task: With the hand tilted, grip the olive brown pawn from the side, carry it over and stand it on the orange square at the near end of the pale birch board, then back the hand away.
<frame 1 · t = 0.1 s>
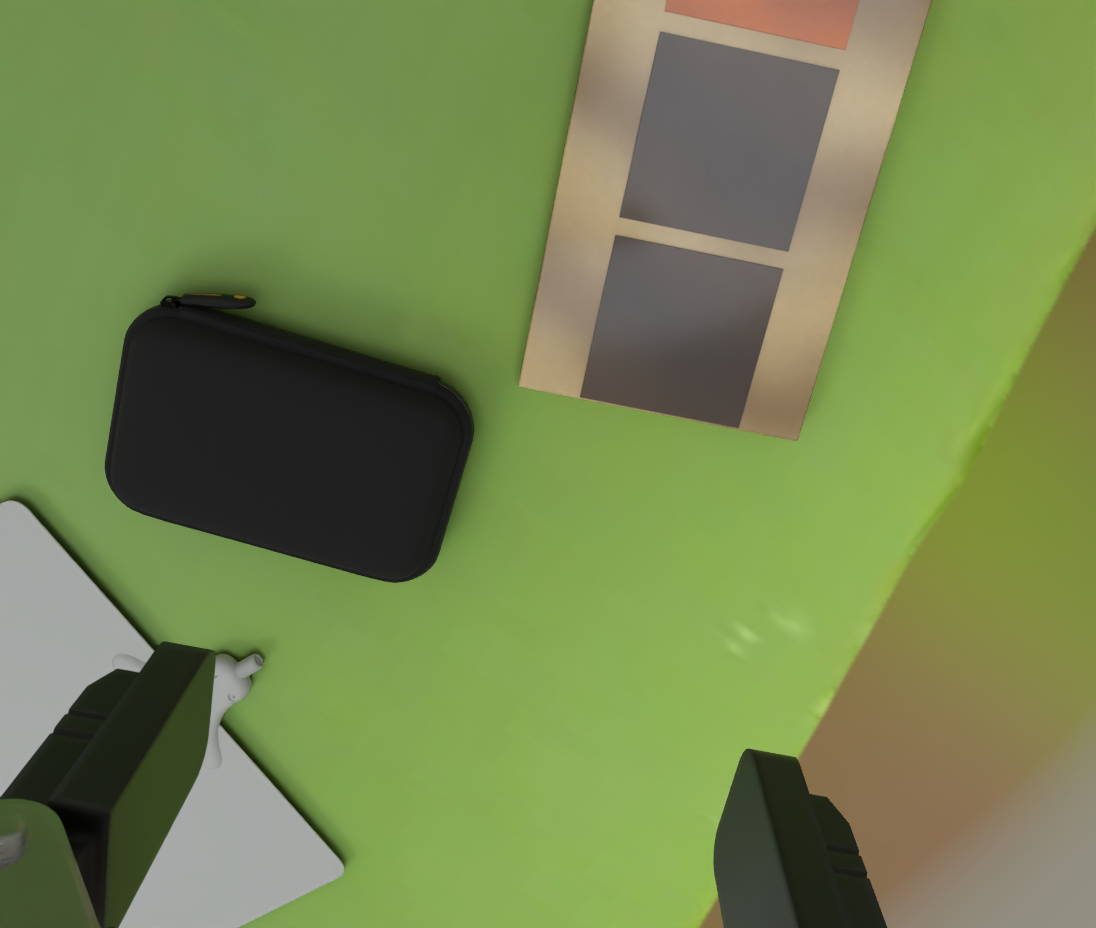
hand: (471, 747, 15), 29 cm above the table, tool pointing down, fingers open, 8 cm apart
carrying case: (301, 424, 45), on the table
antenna: (81, 757, 52), on the table
board: (721, 143, 40), on the table
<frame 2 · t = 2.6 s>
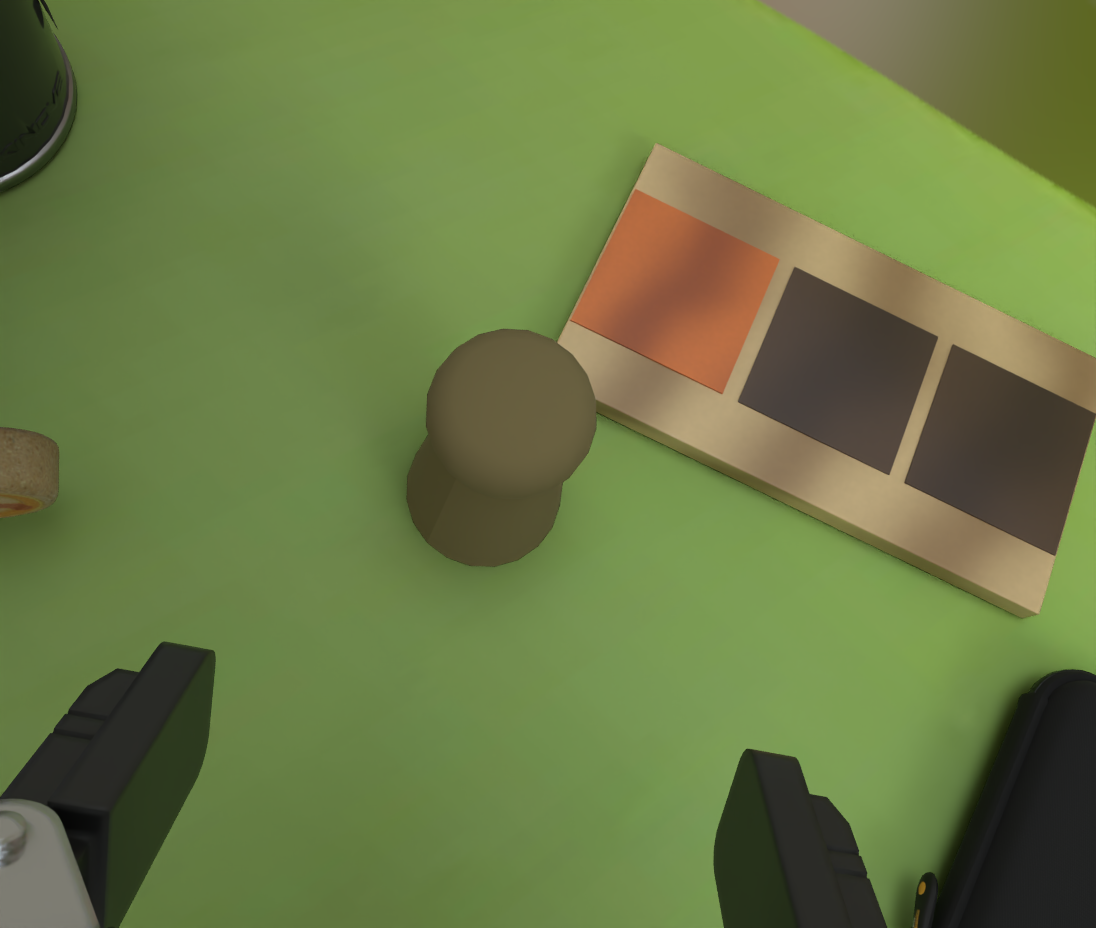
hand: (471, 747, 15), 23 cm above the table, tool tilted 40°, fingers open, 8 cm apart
olive brown pawn: (483, 491, 40), on the table
carrying case: (1050, 877, 39), on the table
board: (828, 379, 43), on the table
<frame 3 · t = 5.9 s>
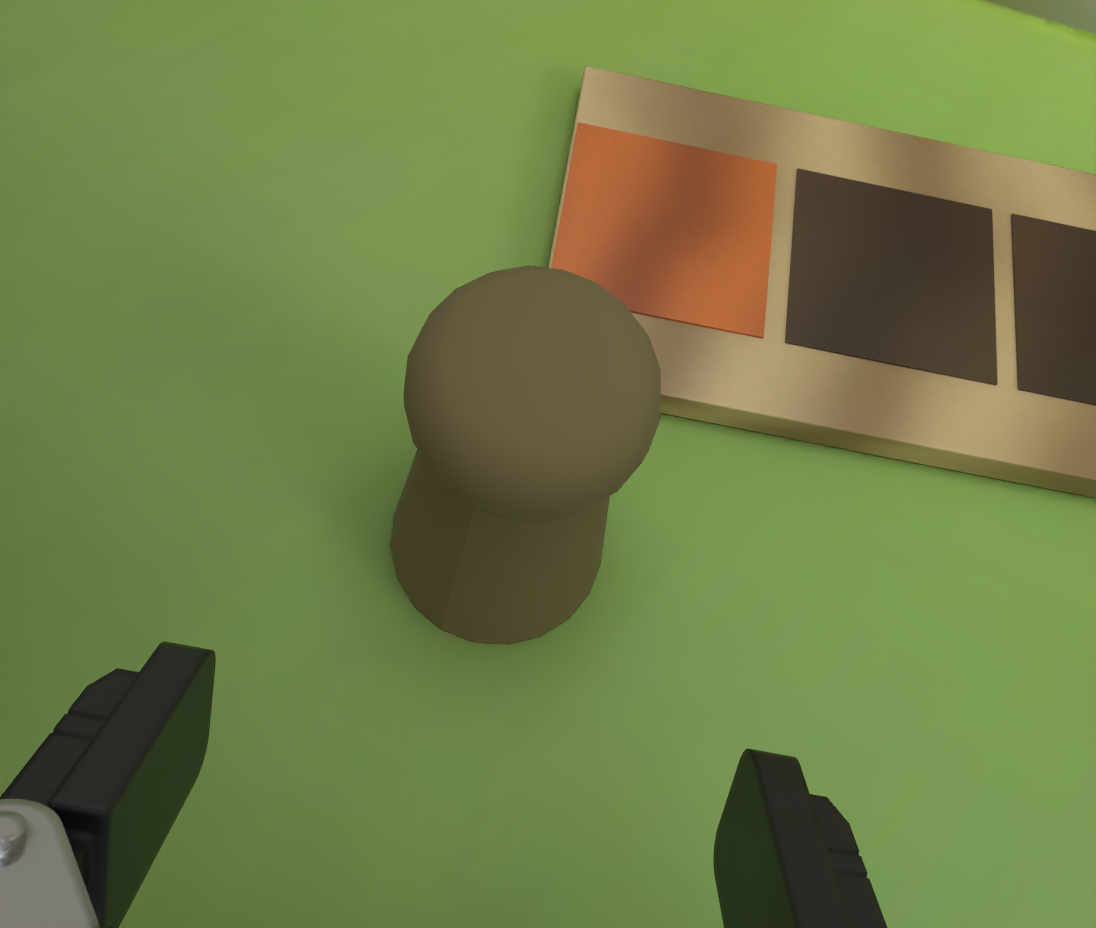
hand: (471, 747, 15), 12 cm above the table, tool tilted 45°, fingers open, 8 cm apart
olive brown pawn: (496, 542, 29), on the table
board: (877, 293, 34), on the table
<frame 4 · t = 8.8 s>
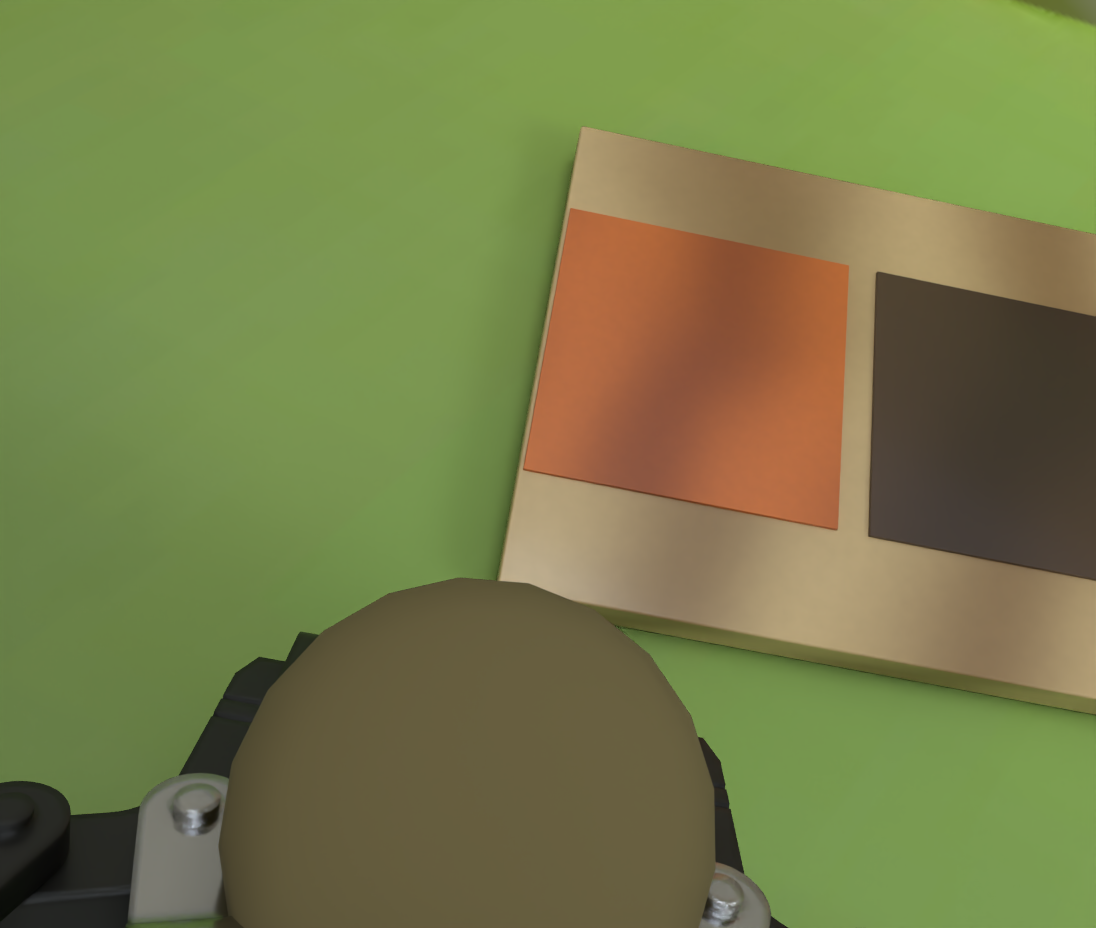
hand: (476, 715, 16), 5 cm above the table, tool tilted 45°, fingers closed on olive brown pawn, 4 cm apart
olive brown pawn: (445, 855, 20), on the table, touching gripper
board: (988, 447, 24), on the table
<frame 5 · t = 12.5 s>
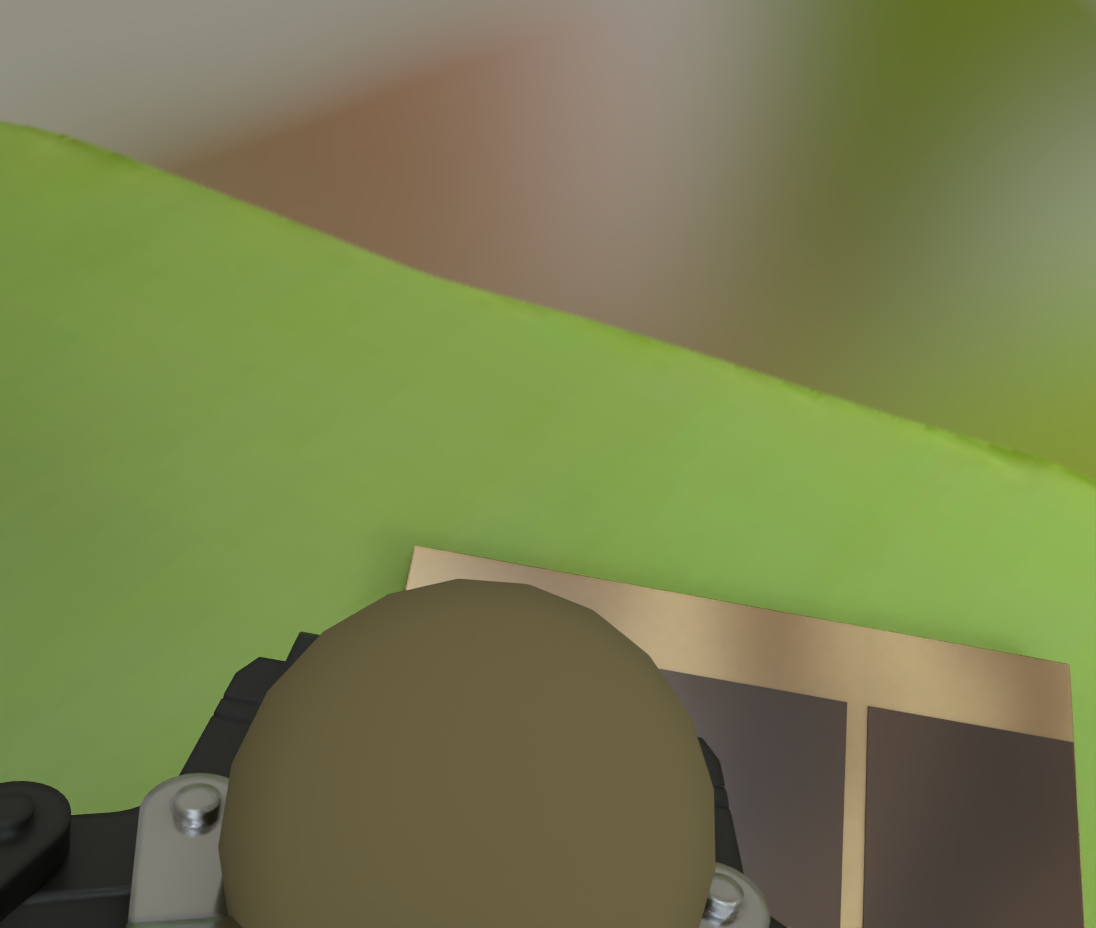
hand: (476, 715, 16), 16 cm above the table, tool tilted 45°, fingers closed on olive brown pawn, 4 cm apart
olive brown pawn: (447, 856, 20), point 12 cm above the table, touching gripper
board: (723, 798, 32), on the table
when the fingers open (6 cm above the table, at t = 16.2 s): olive brown pawn stays where it is, resting on board.
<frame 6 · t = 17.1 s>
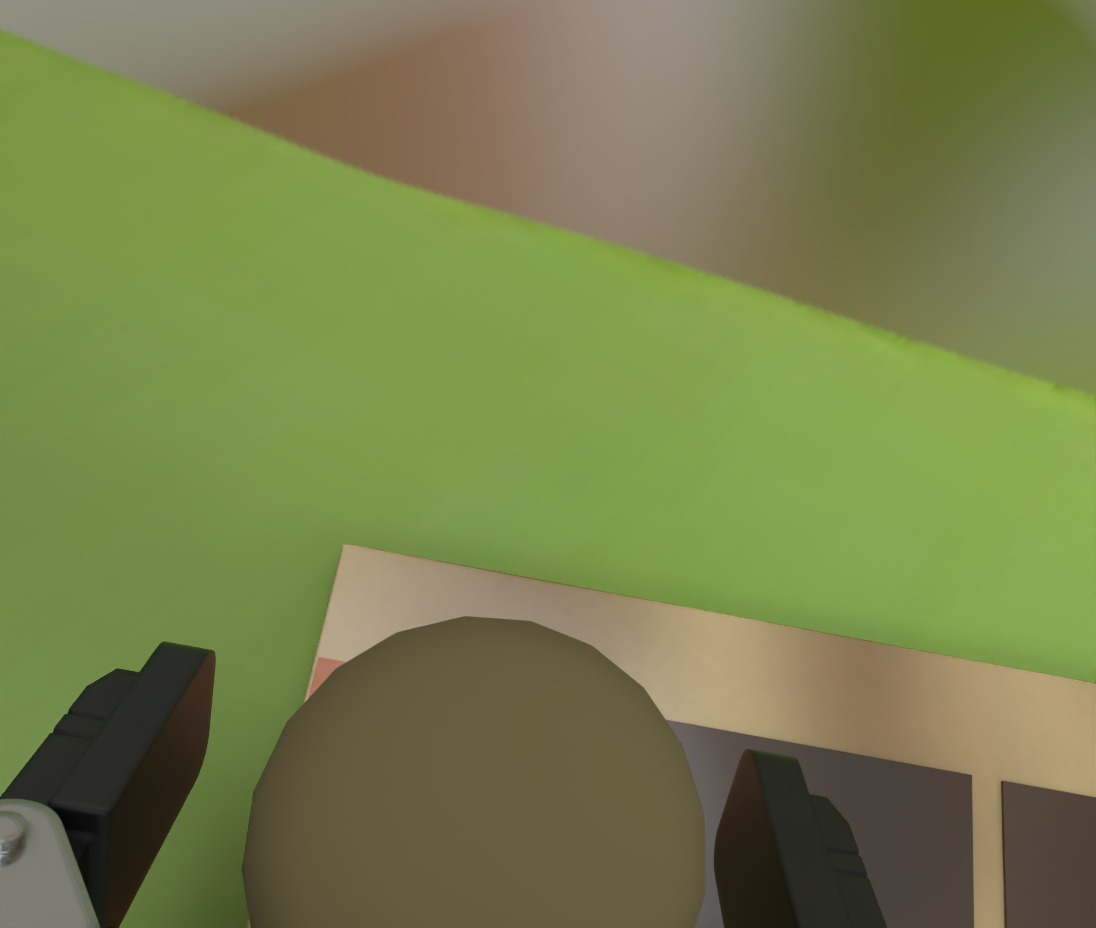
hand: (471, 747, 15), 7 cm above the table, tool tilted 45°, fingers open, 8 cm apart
olive brown pawn: (451, 868, 20), point 1 cm above the table, touching board
board: (791, 917, 22), on the table
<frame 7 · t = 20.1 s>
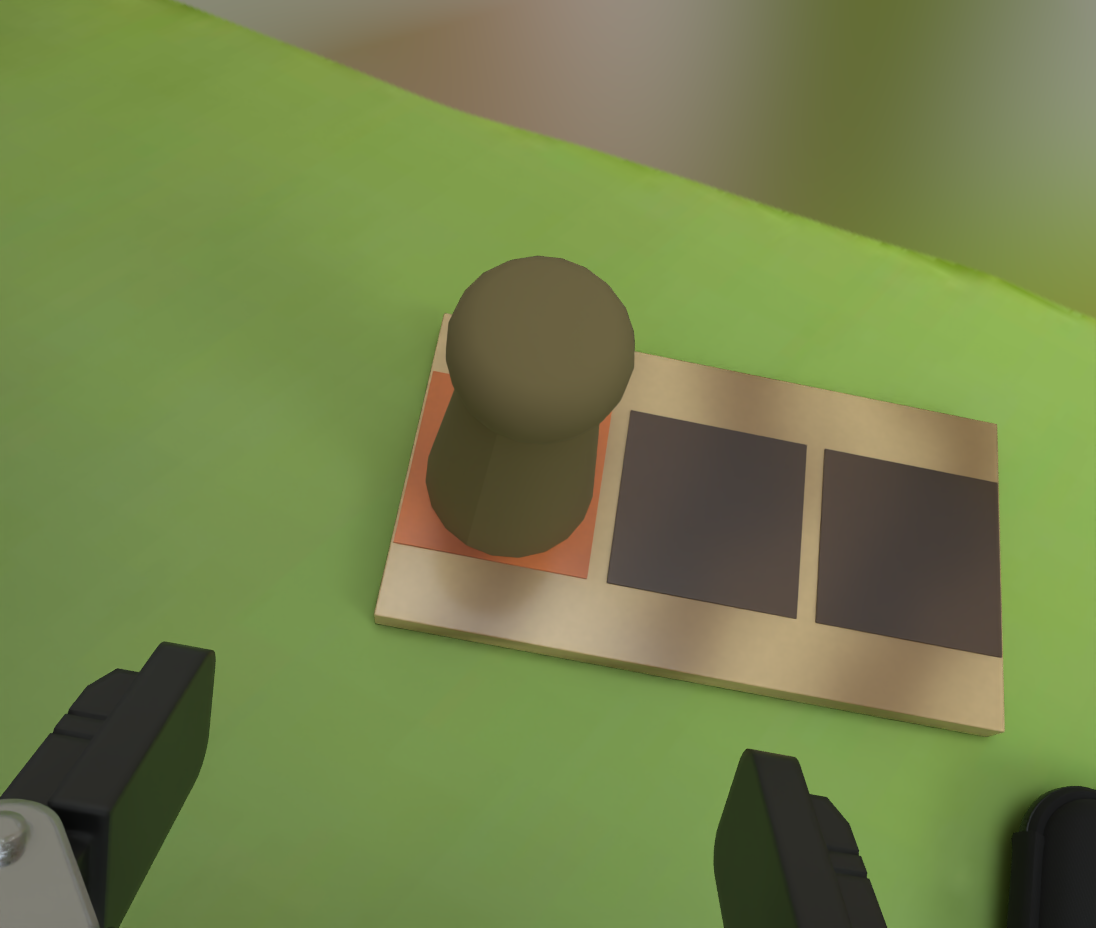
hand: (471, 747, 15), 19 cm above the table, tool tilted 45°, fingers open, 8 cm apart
olive brown pawn: (510, 479, 37), point 1 cm above the table, touching board
board: (701, 522, 38), on the table
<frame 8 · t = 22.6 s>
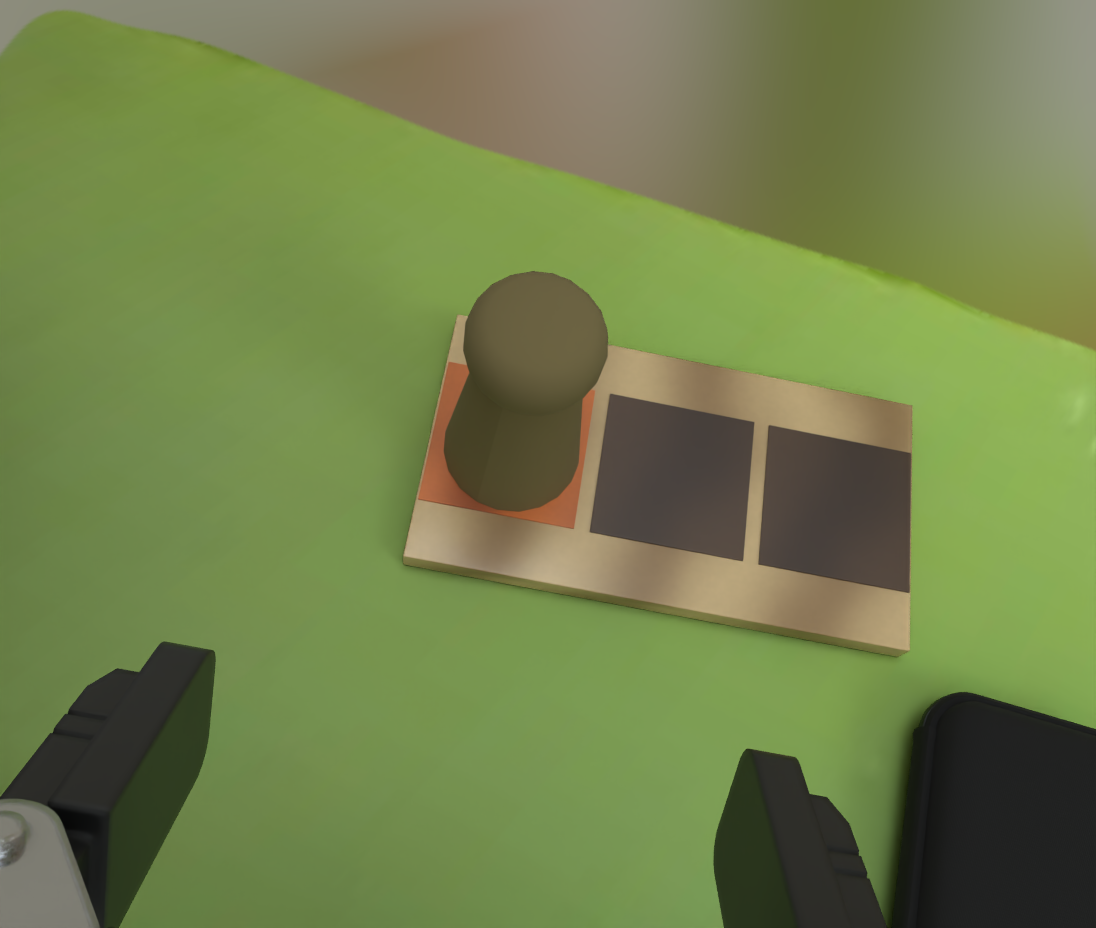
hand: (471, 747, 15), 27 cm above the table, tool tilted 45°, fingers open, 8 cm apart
olive brown pawn: (511, 449, 45), point 1 cm above the table, touching board
carrying case: (986, 892, 42), on the table
board: (668, 485, 47), on the table
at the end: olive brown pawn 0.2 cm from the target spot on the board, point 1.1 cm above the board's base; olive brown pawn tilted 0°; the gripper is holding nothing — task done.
